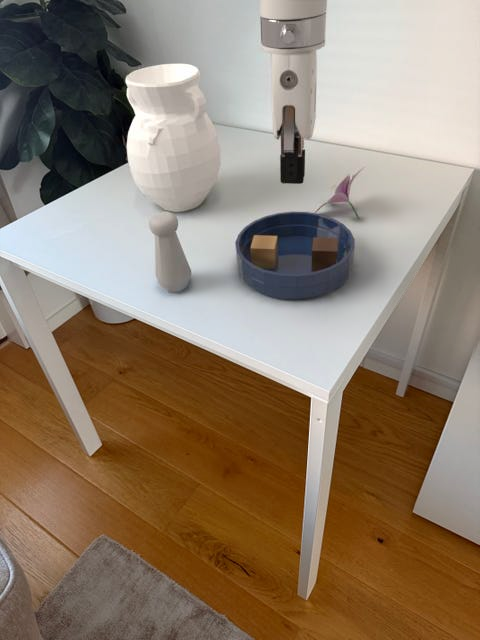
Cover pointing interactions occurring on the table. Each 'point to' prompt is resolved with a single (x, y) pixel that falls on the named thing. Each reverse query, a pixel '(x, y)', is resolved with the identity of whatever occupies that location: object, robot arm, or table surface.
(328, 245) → the walnut block
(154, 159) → the white vase
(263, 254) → the maple block
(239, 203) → the table surface
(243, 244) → the bowl
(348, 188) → the lily
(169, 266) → the salt shaker
